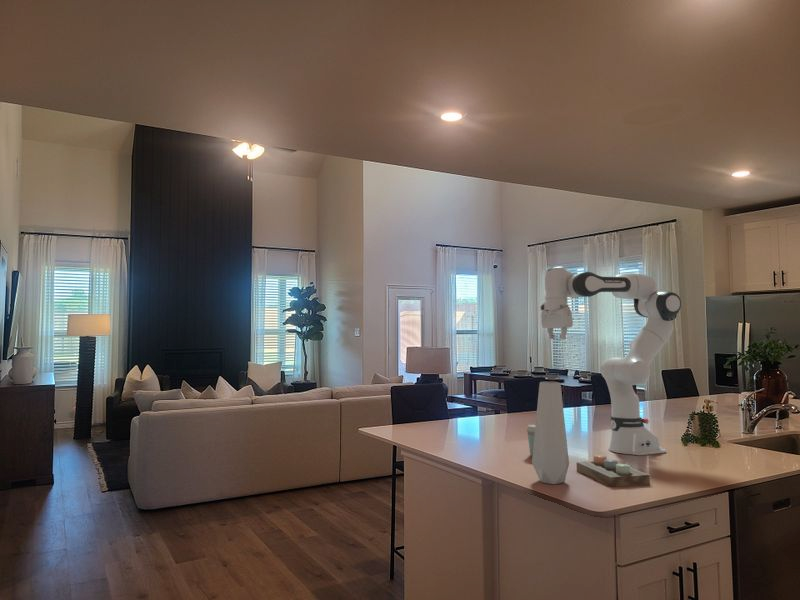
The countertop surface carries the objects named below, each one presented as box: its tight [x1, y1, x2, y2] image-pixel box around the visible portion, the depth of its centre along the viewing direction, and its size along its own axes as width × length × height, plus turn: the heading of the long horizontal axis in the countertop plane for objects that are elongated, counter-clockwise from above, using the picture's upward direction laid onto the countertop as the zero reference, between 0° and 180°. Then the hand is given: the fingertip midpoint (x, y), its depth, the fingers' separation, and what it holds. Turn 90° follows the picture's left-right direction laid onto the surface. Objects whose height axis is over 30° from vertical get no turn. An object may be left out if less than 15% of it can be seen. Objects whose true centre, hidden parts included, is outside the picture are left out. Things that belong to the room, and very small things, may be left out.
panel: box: [576, 460, 651, 488], centre depth 190 cm, size 14×22×3 cm, turn 11°
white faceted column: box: [531, 381, 570, 485], centre depth 186 cm, size 12×12×33 cm
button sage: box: [616, 463, 631, 475], centre depth 183 cm, size 4×4×3 cm
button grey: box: [604, 458, 619, 470], centre depth 190 cm, size 4×4×3 cm
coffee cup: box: [526, 423, 536, 457], centre depth 224 cm, size 9×8×12 cm
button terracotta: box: [593, 454, 608, 465], centre depth 197 cm, size 4×4×3 cm
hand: (557, 339), depth 228 cm, fingers open, 8 cm apart
